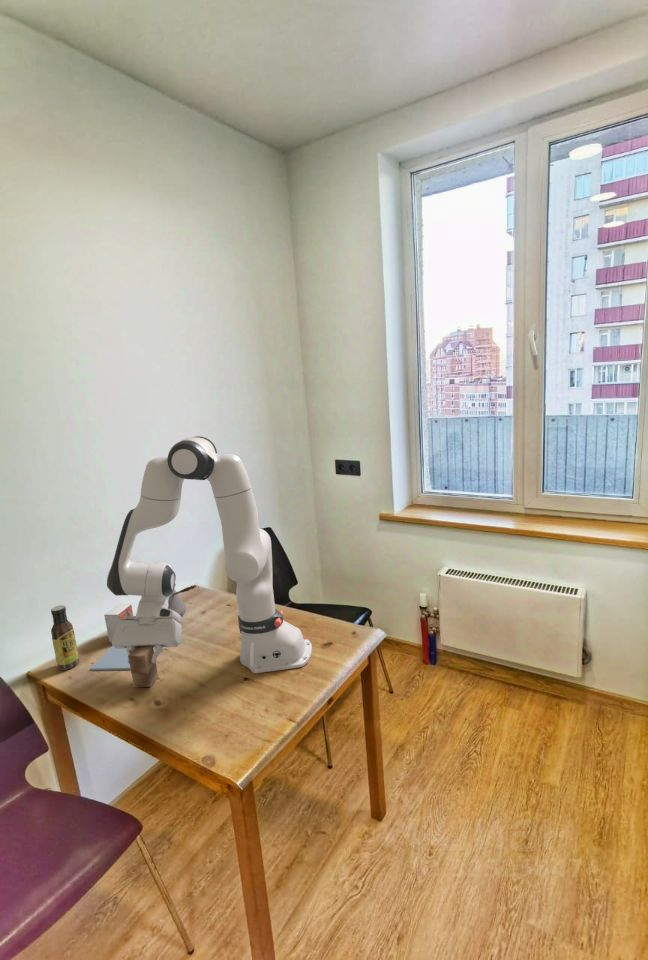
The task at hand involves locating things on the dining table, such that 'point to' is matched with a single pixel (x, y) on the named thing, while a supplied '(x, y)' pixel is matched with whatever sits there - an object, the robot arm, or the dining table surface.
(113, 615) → the small box
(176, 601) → the coffee pot
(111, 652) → the slate board
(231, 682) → the dining table surface
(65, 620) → the sauce bottle
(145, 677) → the walnut block
